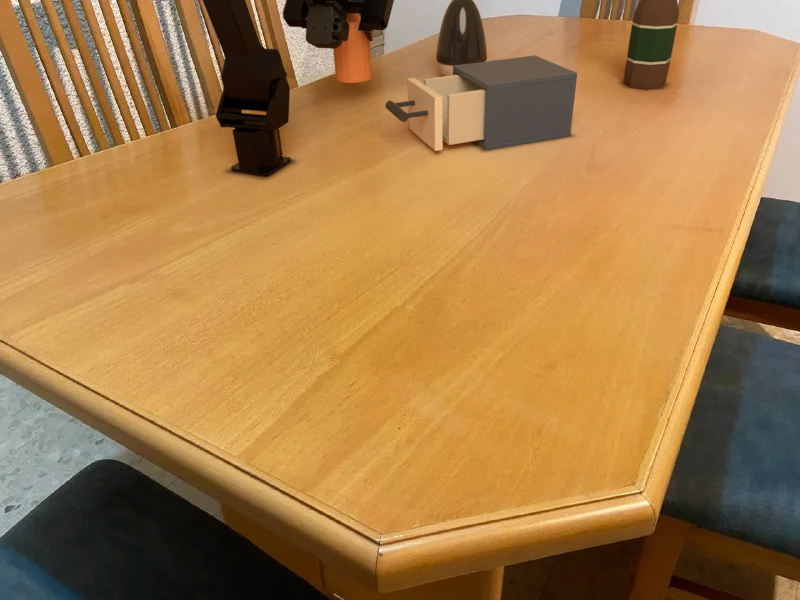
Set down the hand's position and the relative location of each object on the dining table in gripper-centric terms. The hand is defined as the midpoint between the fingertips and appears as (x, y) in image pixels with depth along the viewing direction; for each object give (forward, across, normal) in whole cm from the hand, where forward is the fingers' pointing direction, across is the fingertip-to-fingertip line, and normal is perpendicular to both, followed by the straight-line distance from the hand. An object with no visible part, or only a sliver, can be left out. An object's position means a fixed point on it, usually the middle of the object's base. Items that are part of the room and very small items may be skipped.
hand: (354, 38), depth 115 cm
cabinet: (0, +31, -15) cm, 35 cm away
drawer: (-6, +23, -19) cm, 31 cm away
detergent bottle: (+4, 0, -6) cm, 7 cm away
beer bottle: (+23, +50, +8) cm, 56 cm away
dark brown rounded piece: (+21, +15, +6) cm, 26 cm away
